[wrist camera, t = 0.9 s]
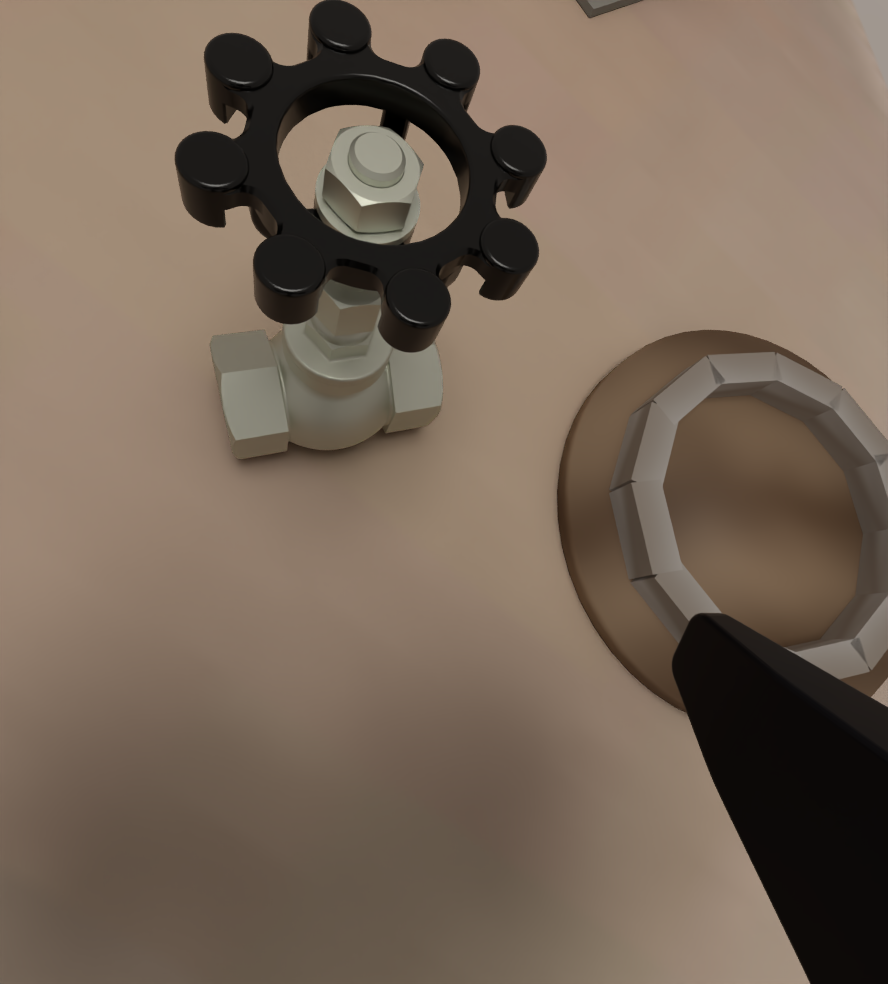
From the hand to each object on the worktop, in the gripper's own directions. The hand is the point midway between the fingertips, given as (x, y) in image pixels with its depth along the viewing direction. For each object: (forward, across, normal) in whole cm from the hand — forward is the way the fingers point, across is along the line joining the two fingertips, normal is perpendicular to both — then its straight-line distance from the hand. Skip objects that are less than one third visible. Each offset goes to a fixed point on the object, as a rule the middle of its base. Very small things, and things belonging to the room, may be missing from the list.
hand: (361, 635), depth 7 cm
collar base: (+13, -17, +6) cm, 22 cm away
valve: (+15, 0, +3) cm, 16 cm away
